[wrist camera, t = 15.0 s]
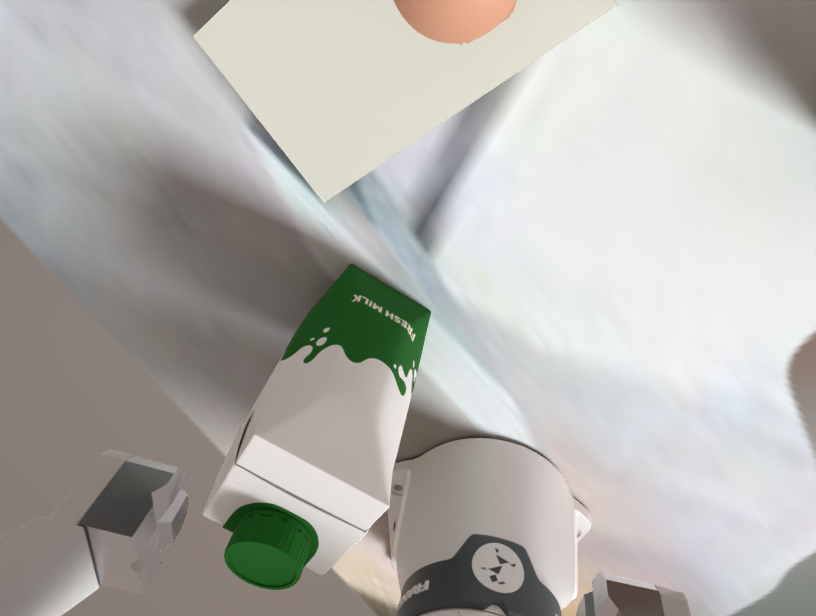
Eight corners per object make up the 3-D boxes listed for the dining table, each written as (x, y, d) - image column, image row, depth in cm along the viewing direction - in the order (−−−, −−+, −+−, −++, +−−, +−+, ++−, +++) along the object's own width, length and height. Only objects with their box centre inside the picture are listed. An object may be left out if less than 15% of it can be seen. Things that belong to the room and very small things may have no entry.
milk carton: (296, 329, 46) (168, 549, 30) (346, 245, 41) (227, 453, 25) (389, 382, 48) (317, 621, 31) (449, 308, 43) (401, 544, 26)
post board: (332, 191, 39) (293, 243, 33) (208, 31, 35) (134, 54, 28) (613, 0, 31) (636, 19, 24) (494, -243, 26) (483, -302, 20)
